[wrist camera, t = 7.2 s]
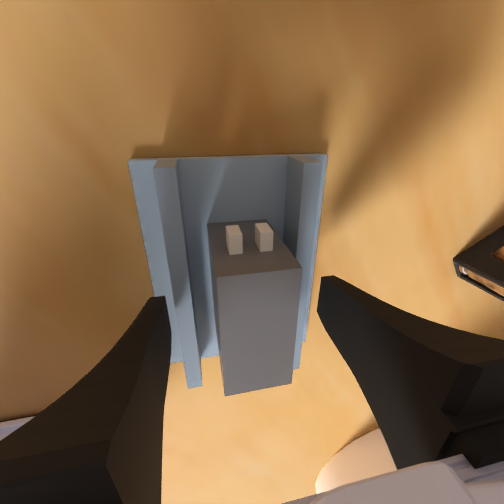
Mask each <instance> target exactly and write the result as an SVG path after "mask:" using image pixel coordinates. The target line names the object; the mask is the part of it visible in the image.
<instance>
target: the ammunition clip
mask: <svg viewBox="0 0 504 504" xmlns="http://www.w3.org/2000/svg"><path fill="white" fill-rule="evenodd" d="M453 262H454V266H455V269H456V273H457V276H458V277H460V278H462V279H463V280H465V281H467V282H469V283H471V284H473V285H474V286H476V287H478V288H480V289H482V290H484V291H485V292H487V293H489V294H491V295H493V296H495V297H497V298H498V299H500V300H502V301H504V226H502V227H501V228H499V229H498V230H496V231H495V232H493V233H492V234H490V235H488V236H487V237H485V238H484V239H482V240H481V241H479V242H478V243H476V244H475V245H473V246H471V247H470V248H468V249H467V250H465V251H464V252H462V253H461V254H459V255H458V256H456V257H455V258H453Z"/></svg>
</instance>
